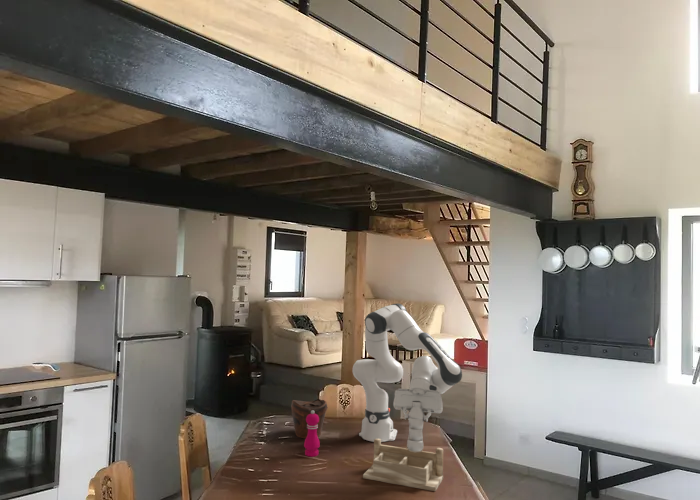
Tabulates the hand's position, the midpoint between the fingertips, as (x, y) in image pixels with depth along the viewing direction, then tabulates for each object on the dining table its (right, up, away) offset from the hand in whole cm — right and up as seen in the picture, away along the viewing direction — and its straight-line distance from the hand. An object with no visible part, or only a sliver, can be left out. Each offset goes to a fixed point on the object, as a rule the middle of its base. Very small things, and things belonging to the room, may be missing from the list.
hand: (416, 419), depth 218 cm
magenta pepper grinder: (-44, -25, +28) cm, 58 cm away
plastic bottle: (-1, -13, -1) cm, 13 cm away
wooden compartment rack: (-5, -25, +2) cm, 25 cm away
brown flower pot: (-48, -25, +56) cm, 78 cm away
